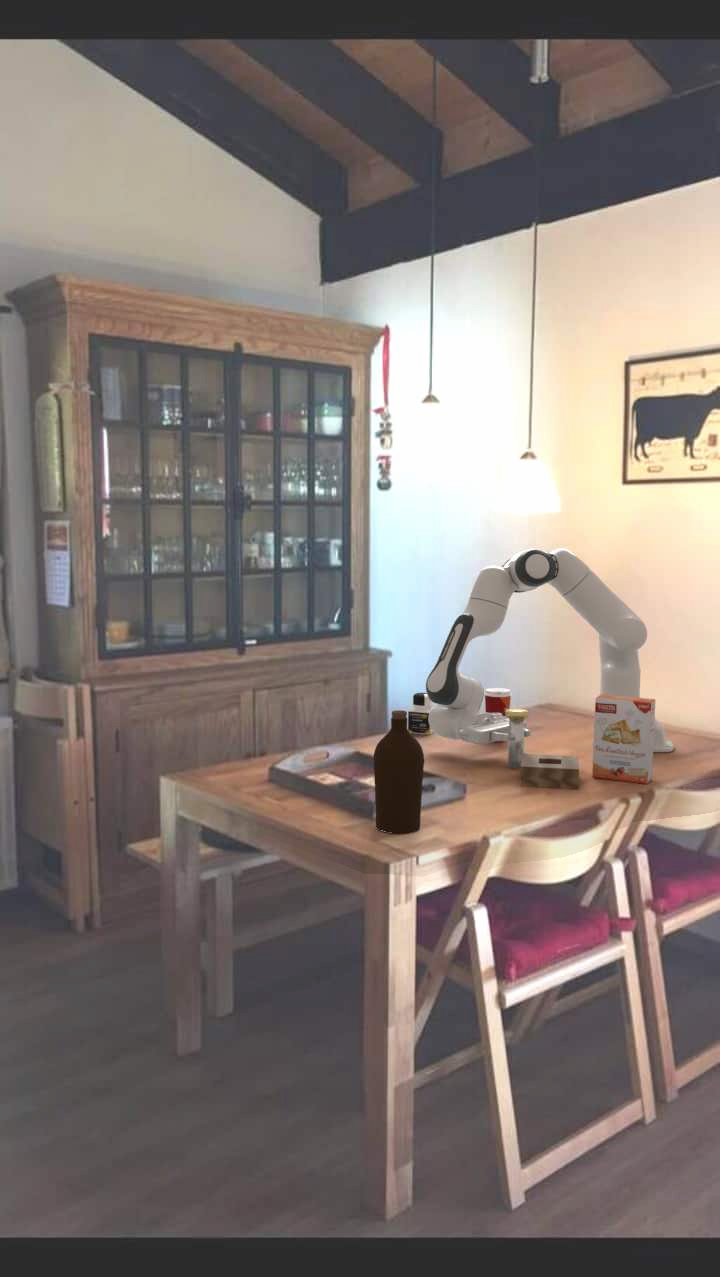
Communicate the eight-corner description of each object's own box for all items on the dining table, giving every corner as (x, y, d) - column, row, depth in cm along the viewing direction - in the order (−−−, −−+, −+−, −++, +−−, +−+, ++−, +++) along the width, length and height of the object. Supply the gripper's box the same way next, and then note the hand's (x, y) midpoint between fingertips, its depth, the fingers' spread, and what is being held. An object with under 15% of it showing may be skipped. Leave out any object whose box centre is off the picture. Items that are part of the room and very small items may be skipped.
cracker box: (591, 778, 264) (594, 696, 261) (597, 773, 269) (600, 693, 267) (647, 785, 257) (651, 701, 255) (652, 779, 263) (655, 698, 260)
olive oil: (396, 838, 213) (398, 718, 210) (362, 826, 221) (363, 710, 218) (433, 828, 220) (435, 712, 217) (398, 817, 228) (400, 705, 225)
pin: (527, 764, 277) (528, 709, 276) (526, 770, 272) (528, 713, 270) (504, 763, 279) (506, 708, 277) (503, 768, 273) (504, 712, 271)
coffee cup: (512, 742, 304) (513, 692, 303) (484, 742, 305) (485, 692, 303) (508, 736, 313) (510, 687, 311) (481, 736, 313) (482, 687, 311)
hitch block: (577, 775, 266) (578, 756, 266) (578, 789, 253) (579, 769, 252) (522, 772, 269) (522, 753, 268) (520, 786, 255) (520, 766, 255)
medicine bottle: (407, 733, 317) (408, 694, 315) (415, 728, 323) (415, 690, 322) (429, 735, 314) (430, 696, 313) (437, 730, 321) (437, 692, 319)
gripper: (453, 721, 276) (494, 729, 266) (501, 711, 290) (542, 718, 280) (453, 744, 277) (494, 753, 267) (501, 734, 291) (541, 741, 281)
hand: (519, 735), depth 274 cm, fingers open, 7 cm apart
